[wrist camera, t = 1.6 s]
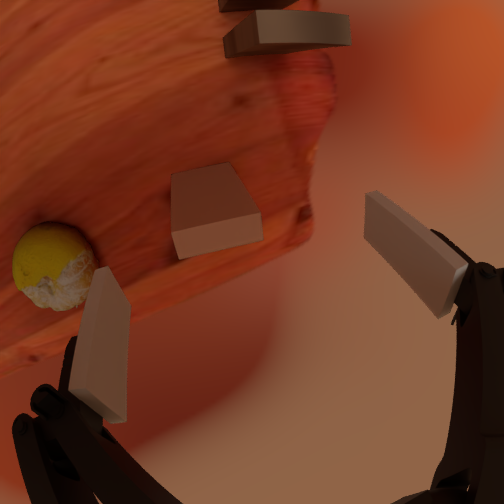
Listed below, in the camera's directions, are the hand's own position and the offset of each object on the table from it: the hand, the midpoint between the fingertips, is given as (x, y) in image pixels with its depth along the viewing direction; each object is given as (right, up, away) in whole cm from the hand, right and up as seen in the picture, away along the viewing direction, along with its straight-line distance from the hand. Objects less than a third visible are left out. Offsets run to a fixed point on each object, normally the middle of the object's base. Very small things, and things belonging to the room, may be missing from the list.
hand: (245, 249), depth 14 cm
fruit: (-23, -1, +16) cm, 28 cm away
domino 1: (-5, +8, +15) cm, 18 cm away
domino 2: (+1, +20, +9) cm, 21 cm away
